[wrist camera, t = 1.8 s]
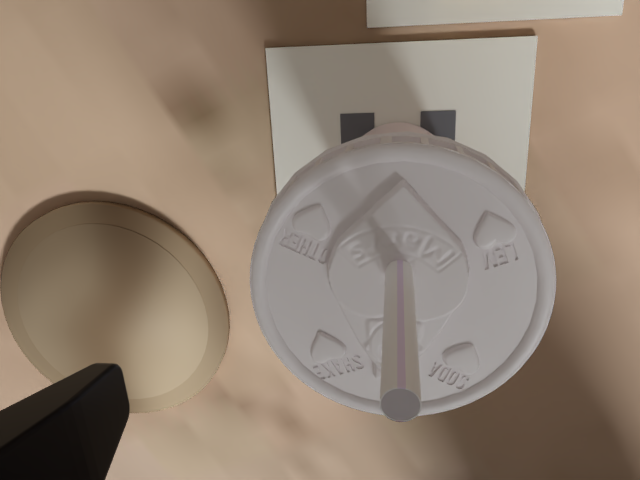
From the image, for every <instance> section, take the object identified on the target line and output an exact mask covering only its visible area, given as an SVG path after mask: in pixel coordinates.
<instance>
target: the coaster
mask: <svg viewBox="0 0 640 480" xmlns="http://www.w3.org/2000/svg"><path fill="white" fill-rule="evenodd" d="M0 288H1V301H2V306H3V311H4V315H5V318H6V321H7V323H8V326H9V329H10V331H11V333H12V335H13V337H14V339H15V341H16V342H17V344H18V346H19V347H20V349H21V350H22V352H23V353H24V354H25V356H26V357H27V358H28V360H29V361H30V362H31V363H32V364H33V365H34V366H35V367H36V368H37V370H38V371H39V372H40V373H41V374H42V375H44V376H45V377H46V378H47V379H48V380H50V381H51V382H52V383H53V384H54V383H56V382H58V381H60V380H62V379H64V378H66V377H68V376H70V375H72V374H74V373H76V372H78V371H80V370H82V369H84V368H86V367H88V366H89V365H91V364H94V363H115V364H118V365H119V366H120V367H121V369H122V372H123V376H124V380H125V385H126V389H127V394H128V399H129V404H130V412H129V413H148V412H155V411H161V410H164V409H168V408H172V407H174V406H176V405H179V404H181V403H183V402H185V401H187V400H188V399H190V398H192V397H193V396H195V395H196V394H197V393H198V392H200V391H201V390H202V389H203V388H204V387H205V386H206V385H207V384H208V382H209V381H210V380H211V379H212V377H213V376H214V374H215V373H216V371H217V370H218V368H219V366H220V364H221V361H222V359H223V357H224V354H225V352H226V348H227V344H228V339H229V329H230V324H229V311H228V306H227V301H226V297H225V294H224V291H223V289H222V286H221V284H220V282H219V280H218V277H217V275H216V273H215V272H214V270H213V268H212V267H211V265H210V264H209V262H208V261H207V259H206V258H205V257H204V256H203V254H202V253H201V252H200V251H199V250H198V248H197V247H196V246H195V245H194V244H193V243H192V242H191V241H190V240H189V239H188V238H187V237H185V236H184V235H183V234H182V233H181V232H179V231H178V230H177V229H175V228H174V227H173V226H171V225H170V224H168V223H166V222H165V221H163V220H161V219H160V218H158V217H156V216H154V215H152V214H149V213H147V212H145V211H143V210H140V209H137V208H134V207H131V206H127V205H123V204H118V203H112V202H100V201H90V202H79V203H74V204H70V205H65V206H63V207H60V208H57V209H55V210H52V211H50V212H49V213H47V214H45V215H43V216H42V217H40V218H38V219H36V220H35V221H33V222H32V223H31V224H30V225H29V226H27V227H26V228H25V229H24V230H23V231H22V232H21V233H20V235H19V236H18V237H17V238H16V239H15V241H14V243H13V244H12V246H11V247H10V249H9V251H8V254H7V256H6V259H5V261H4V265H3V269H2V274H1V287H0Z"/></svg>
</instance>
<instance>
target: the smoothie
mask: <svg viewBox="0 0 640 480" xmlns="http://www.w3.org/2000/svg"><path fill="white" fill-rule="evenodd" d="M250 289H251V298H252V303H253V308H254V311H255V315H256V318H257V321H258V323H259V326H260V328H261V330H262V333H263V335H264V337H265V338H266V340H267V342H268V344H269V345H270V347H271V348H272V350H273V351H274V353H275V354H276V356H277V357H278V358H279V359H280V360H281V362H282V363H283V364H284V365H285V366H286V367H287V368H288V369H289V370H290V371H291V372H292V373H293V374H294V375H295V376H296V377H297V378H298V379H300V380H301V381H302V382H303V383H305V384H306V385H307V386H309V387H310V388H312V389H313V390H315V391H316V392H318V393H320V394H321V395H323V396H325V397H327V398H329V399H331V400H333V401H335V402H337V403H340V404H342V405H345V406H347V407H350V408H353V409H357V410H360V411H364V412H369V413H374V414H380V415H385V416H386V417H387V418H389V419H391V420H393V421H397V422H406V421H410V420H412V419H414V418H415V417H416V416H421V415H430V414H435V413H440V412H445V411H449V410H452V409H456V408H459V407H461V406H464V405H467V404H469V403H472V402H474V401H476V400H478V399H480V398H482V397H484V396H486V395H487V394H489V393H491V392H492V391H494V390H495V389H497V388H498V387H500V386H501V385H502V384H504V383H505V382H506V381H508V380H509V379H510V378H511V377H512V376H513V375H514V374H515V373H517V371H518V370H519V369H520V368H521V367H522V366H523V365H524V364H525V363H526V362H527V360H528V359H529V358H530V356H531V355H532V354H533V352H534V351H535V349H536V348H537V346H538V344H539V343H540V341H541V339H542V337H543V335H544V333H545V331H546V329H547V326H548V323H549V321H550V318H551V315H552V310H553V306H554V302H555V293H556V269H555V260H554V256H553V251H552V247H551V244H550V241H549V238H548V235H547V233H546V231H545V229H544V226H543V224H542V222H541V220H540V217H539V213H538V212H537V210H536V209H535V207H534V206H533V204H532V203H531V201H530V200H529V198H528V197H527V195H526V194H525V192H524V191H523V189H522V188H521V186H520V185H519V183H518V181H517V180H515V179H514V178H513V177H512V176H511V175H509V174H508V173H507V172H506V171H505V170H504V169H502V168H501V167H500V166H499V165H498V164H496V163H495V162H494V161H493V160H492V159H490V158H489V157H488V156H487V155H485V154H483V153H481V152H479V151H476V150H474V149H472V148H470V147H468V146H465V145H463V144H461V143H459V142H456V141H454V140H452V139H450V138H447V137H440V136H434V135H433V134H431V133H430V132H428V131H427V130H425V129H424V128H422V127H419V126H417V125H414V124H410V123H404V122H394V123H387V124H383V125H380V126H378V127H376V128H374V129H372V130H370V131H369V132H367V133H366V134H365V135H363V136H362V137H359V138H356V139H354V140H351V141H348V142H346V143H343V144H340V145H338V146H335V147H332V148H330V149H327V150H325V151H324V152H323V153H321V154H320V155H319V156H317V157H316V158H314V159H313V160H312V161H310V162H309V163H308V164H306V165H305V166H303V167H302V168H301V169H299V170H298V171H297V172H295V173H294V175H293V176H292V177H291V178H290V180H289V181H288V182H287V183H286V185H285V186H284V187H283V188H282V190H281V191H280V192H279V194H278V195H277V196H276V197H275V199H274V200H273V201H272V203H271V205H270V208H269V210H268V213H267V215H266V218H265V220H264V222H263V224H262V226H261V229H260V231H259V233H258V236H257V239H256V242H255V245H254V249H253V254H252V258H251V267H250Z"/></svg>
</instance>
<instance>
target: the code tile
mask: <svg viewBox="0 0 640 480" xmlns="http://www.w3.org/2000/svg"><path fill="white" fill-rule="evenodd" d="M537 39H538V36H518V37H496V38H474V39H452V40H431V41H409V42H387V43H365V44H343V45H321V46H300V47H278V48H265V50H266V62H267V75H268V88H269V100H270V113H271V125H272V138H273V151H274V163H275V176H276V188H277V195H278V194H279V192H280V191H281V190H282V188H283V187H284V186H285V185H286V183H287V182H288V181H289V180H290V178H291V177H292V176H293V175H294V173H295V172H297V171H298V170H299V169H301V168H302V167H303V166H305V165H306V164H308V163H309V162H310V161H312V160H313V159H314V158H316V157H317V156H319V155H320V154H321V153H323V152H324V151H325V150H327V149H330V148H332V147H335V146H338V145H340V144H343V143H346V142H348V141H351V140H354V139H356V138H359V137H362V136H363V135H365V134H366V133H367V132H369V131H370V130H372V129H374V128H376V127H378V126H380V125H383V124H387V123H394V122H404V123H410V124H414V125H417V126H419V127H422V128H424V129H425V130H427V131H428V132H430V133H431V134H433V135H434V136H440V137H447V138H450V139H452V140H454V141H456V142H459V143H461V144H463V145H465V146H468V147H470V148H472V149H474V150H476V151H479V152H481V153H483V154H485V155H487V156H488V157H489V158H490V159H492V160H493V161H494V162H495V163H496V164H498V165H499V166H500V167H501V168H502V169H504V170H505V171H506V172H507V173H508V174H509V175H511V176H512V177H513V178H514V179H515V180H517V181H518V183H519V185H520V186H521V188H522V189H523V191H524V192H525V182H526V170H527V158H528V146H529V134H530V122H531V110H532V98H533V86H534V74H535V62H536V50H537Z"/></svg>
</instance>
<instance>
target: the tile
mask: <svg viewBox="0 0 640 480" xmlns="http://www.w3.org/2000/svg"><path fill="white" fill-rule="evenodd" d="M366 1H367V28H374V27H394V26H414V25H435V24H455V23H475V22H495V21H516V20H536V19H556V18H576V17H597V16H617V15H622V11H623V4H624V0H366Z"/></svg>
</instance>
